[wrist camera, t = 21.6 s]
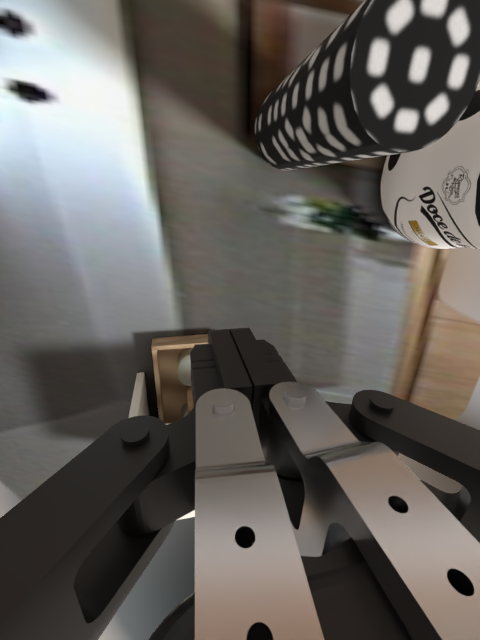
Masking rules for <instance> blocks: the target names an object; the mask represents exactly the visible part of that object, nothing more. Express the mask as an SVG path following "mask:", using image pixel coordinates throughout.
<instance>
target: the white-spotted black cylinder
mask: <svg viewBox="0 0 480 640" xmlns="http://www.w3.org/2000/svg"><path fill="white" fill-rule="evenodd" d="M479 81H480V0H365V1H364V2H363V3H362V4H361V5H360V6H359V7H358V8H357V9H356V10H355V11H354V12H353V13H352V14H351V15H350V16H349V17H348V18H347V19H346V20H345V21H344V22H343V23H342V24H341V25H340V26H339V27H338V28H337V29H336V30H334V31H333V32H332V33H331V34H330V35H329V36H328V37H327V38H326V39H325V40H324V41H323V42H322V43H321V44H320V45H319V46H318V47H317V48H316V49H315V50H314V51H313V52H312V53H311V54H310V55H309V56H308V57H307V58H306V59H305V60H304V61H303V62H302V63H301V64H300V65H299V66H298V67H297V68H295V69H294V70H293V71H292V72H291V73H290V74H289V75H288V76H287V77H286V78H285V79H284V80H283V81H282V82H281V83H280V84H279V85H278V86H277V87H276V88H275V89H274V90H273V91H272V92H271V93H270V94H269V95H268V96H267V97H266V98H265V100H264V101H263V102H262V104H261V106H260V108H259V110H258V113H257V116H256V122H255V138H256V143H257V146H258V148H259V151H260V153H261V154H262V156H263V157H264V159H265V160H266V161H267V162H268V163H269V164H271V165H272V166H273V167H276V168H278V169H281V170H296V169H303V168H309V167H316V166H322V165H329V164H335V163H342V162H348V161H355V160H361V159H368V158H374V157H381V156H387V155H394V154H400V153H407V152H412V151H416V150H420V149H423V148H425V147H427V146H429V145H431V144H433V143H435V142H436V141H438V140H439V139H440V138H441V137H443V136H444V135H445V134H447V133H448V131H449V130H450V129H451V128H452V127H453V126H454V125H455V124H456V123H457V122H458V120H459V119H460V117H461V116H462V115H463V113H464V112H465V110H466V109H467V107H468V105H469V103H470V101H471V99H472V98H473V96H474V94H475V91H476V89H477V86H478V83H479Z"/></svg>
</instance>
